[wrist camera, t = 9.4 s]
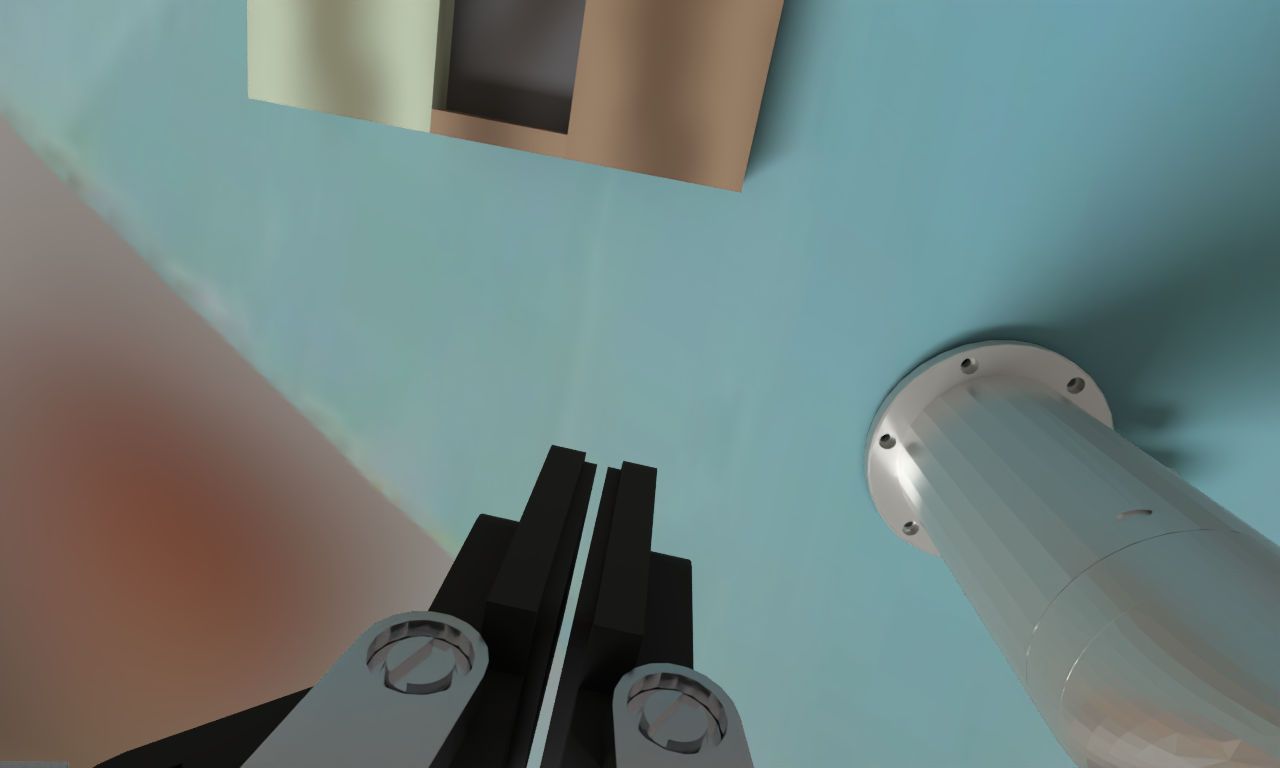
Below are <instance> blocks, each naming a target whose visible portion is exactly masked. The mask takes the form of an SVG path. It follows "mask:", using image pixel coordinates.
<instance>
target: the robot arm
mask: <svg viewBox="0 0 1280 768" xmlns="http://www.w3.org/2000/svg"><path fill="white" fill-rule="evenodd" d="M965 359H967V362H966V363H965V364H963V365H961V364H962V362H963V361H964V360H965ZM1069 381H1070V382H1069ZM1068 382H1069V383H1068ZM885 434H887V436H886V437H885V438H881V437H882V436H883V435H885ZM585 456H586V452H582V451H577V450H573V449H568V448H564V447H559V446H555V445H552V446H551V448H550V450H549V453H548V455H547V458H546V460H545V462H544V465H543V467H542V470H541V472H540V474H539V477H538V479H537V481H536V484H535V486H534V489H533V491H532V493H531V496H530V498H529V501H528V503H527V505H526V508H525V510H524V512H523V515H522V517H521V520H520V522H517V521H513V520H509V519H504V518H500V517H495V516H491V515H486V514H480V515H479V517H478V518H477V520H476V522H475V524H474V525H473V527H472V529H471V531H470V533H469V535H468V537H467V539H466V541H465V542H464V544H463V546H462V548H461V550H460V552H459V554H458V556H457V557H456V559H455V561H454V563H453V565H452V567H451V569H450V571H449V573H448V575H447V576H446V578H445V580H444V582H443V584H442V586H441V588H440V589H439V591H438V593H437V595H436V597H435V599H434V601H433V603H432V605H431V606H430V608H429V610H428V611H412V612H406V613H401V614H396V615H392V616H390V617H388V618H385V619H383V620H381V621H379V622H377V623H375V624H373V625H372V626H371V627H370V628H369V629H368V630H366V631H365V632H364V633H362V634H361V635H360V636H359V638H357V640H356V641H355V642H354V643H353V644H352V645H351V646H350V647H349V648H348V649H347V651H346V652H345V653H344V654H343V655H342V656H341V657H340V658H339V660H338V661H337V662H336V663H335V664H334V665H333V666H332V667H331V668H330V669H329V670H328V672H327V673H326V674H325V675H324V676H323V677H322V678H321V679H320V680H319V681H318V683H317V684H316V685H315V686H313V687H310V688H307V689H305V690H302V691H299V692H296V693H293V694H290V695H287V696H285V697H282V698H279V699H276V700H273V701H270V702H267V703H264V704H262V705H259V706H256V707H253V708H250V709H247V710H245V711H242V712H239V713H236V714H233V715H230V716H227V717H225V718H221V719H219V720H216V721H213V722H210V723H207V724H204V725H201V726H199V727H196V728H193V729H190V730H187V731H184V732H181V733H179V734H176V735H173V736H170V737H167V738H164V739H161V740H158V741H156V742H153V743H150V744H147V745H144V746H141V747H138V748H135V749H133V750H130V751H127V752H124V753H122V754H120V755H118V756H116V757H114V758H111V759H109V760H107V761H105V762H103V763H100V764H98V765H96V766H95V767H93V768H526V767H527V763H528V759H529V755H530V751H531V747H532V743H533V739H534V734H535V731H536V727H537V722H538V719H539V715H540V710H541V707H542V703H543V699H544V694H545V690H546V686H547V682H548V678H549V674H550V670H551V666H552V662H553V658H554V654H555V650H556V646H557V642H558V638H559V634H560V630H561V626H562V622H563V617H564V613H565V609H566V604H567V600H568V595H569V590H570V586H571V581H572V577H573V572H574V568H575V563H576V559H577V554H578V550H579V545H580V541H581V536H582V532H583V527H584V522H585V518H586V513H587V509H588V504H589V500H590V495H591V491H592V486H593V482H594V477H595V473H596V468H597V464H593V463H589V462H584V461H585ZM864 474H865V480H866V483H867V487H868V490H869V494H870V496H871V498H872V500H873V502H874V504H875V506H876V508H877V510H878V512H879V513H880V515H881V516H882V518H883V519H884V521H885V522H886V523H887V525H888V526H889V527H890V528H891V529H892V530H893V531H894V532H895V533H896V534H897V535H898V536H899V537H900V538H901V539H902V540H904V541H906V542H907V543H909V544H910V545H912V546H914V547H915V548H917V549H919V550H921V551H923V552H926V553H929V554H932V555H934V556H937V557H940V558H943V560H944V562H945V563H946V565H947V566H948V568H949V570H950V571H951V573H952V574H953V576H954V578H955V579H956V581H957V582H958V584H959V586H960V587H961V589H962V590H963V592H964V594H965V595H966V597H967V598H968V600H969V601H970V603H971V605H972V606H973V608H974V609H975V611H976V613H977V614H978V616H979V617H980V619H981V621H982V622H983V624H984V625H985V627H986V629H987V630H988V632H989V633H990V635H991V637H992V638H993V640H994V641H995V643H996V644H997V646H998V648H999V649H1000V651H1001V652H1002V654H1003V656H1004V657H1005V659H1006V660H1007V662H1008V664H1009V665H1010V667H1011V668H1012V670H1013V672H1014V673H1015V675H1016V676H1017V678H1018V680H1019V681H1020V683H1021V684H1022V686H1023V687H1024V689H1025V691H1026V692H1027V694H1028V695H1029V697H1030V699H1031V700H1032V702H1033V703H1034V705H1035V707H1036V708H1037V710H1038V712H1039V713H1040V715H1041V717H1042V718H1043V720H1044V721H1045V723H1046V724H1047V726H1048V727H1049V729H1050V731H1051V732H1052V734H1053V735H1054V737H1055V738H1056V740H1057V741H1058V743H1059V744H1060V745H1061V747H1062V748H1063V749H1064V751H1065V752H1066V753H1067V755H1068V756H1069V757H1070V758H1071V759H1072V761H1073V762H1074V763H1075V764H1076V765H1077V766H1078V767H1079V768H1280V546H1278V545H1277V544H1275V543H1274V542H1272V541H1271V540H1270V539H1268V538H1267V537H1265V536H1264V535H1262V534H1261V533H1260V532H1258V531H1257V530H1255V529H1254V528H1252V527H1251V526H1250V525H1248V524H1247V523H1245V522H1244V521H1242V520H1241V519H1240V518H1238V517H1237V516H1235V515H1234V514H1232V513H1231V512H1230V511H1228V510H1227V509H1225V508H1224V507H1222V506H1221V505H1220V504H1218V503H1217V502H1215V501H1214V500H1212V499H1211V498H1210V497H1208V496H1207V495H1205V494H1204V493H1202V492H1201V491H1200V490H1198V489H1197V488H1195V487H1194V486H1192V485H1191V484H1190V483H1188V482H1187V481H1185V480H1184V479H1182V478H1181V477H1180V476H1179V474H1178V473H1177V471H1176V470H1175V469H1172V468H1168V467H1165V466H1164V465H1162V464H1161V463H1160V462H1158V461H1157V460H1155V459H1154V458H1152V457H1151V456H1150V455H1148V454H1147V453H1145V452H1144V451H1142V450H1141V449H1140V448H1138V447H1137V446H1135V445H1134V444H1132V443H1131V442H1130V441H1128V440H1127V439H1125V438H1124V437H1122V436H1121V435H1120V434H1118V433H1117V432H1115V431H1114V427H1113V420H1112V413H1111V411H1110V408H1109V406H1108V404H1107V401H1106V399H1105V396H1104V394H1103V393H1102V391H1101V390H1100V388H1099V387H1098V386H1097V384H1096V383H1095V381H1094V380H1093V379H1092V377H1090V376H1089V375H1088V374H1087V373H1086V372H1085V371H1084V370H1082V369H1081V368H1080V367H1079V366H1078V365H1077V364H1075V363H1074V362H1072V361H1070V360H1069V359H1067V358H1065V357H1064V356H1062V355H1060V354H1059V353H1057V352H1054V351H1052V350H1049V349H1047V348H1045V347H1042V346H1040V345H1037V344H1032V343H1027V342H1021V341H1016V340H988V341H982V342H977V343H971V344H966V345H963V346H960V347H957V348H954V349H952V350H949V351H946V352H943V353H941V354H939V355H938V356H936V357H934V358H932V359H930V360H929V361H927V362H925V363H923V364H921V365H920V366H919V367H917V368H916V369H915V370H914V371H912V372H911V373H910V374H909V375H907V376H906V377H905V378H904V379H902V380H901V381H900V383H899V384H898V385H897V386H896V387H895V388H894V389H893V390H892V392H891V393H890V394H889V395H888V396H887V397H886V399H885V400H884V402H883V404H882V405H881V407H880V408H879V410H878V412H877V413H876V415H875V417H874V419H873V422H872V424H871V427H870V430H869V432H868V435H867V439H866V445H865V451H864ZM656 477H657V468H653V467H648V466H644V465H640V464H635V463H631V462H626V461H623V464H622V468H621V470H620V469H616V468H611V467H608V469H607V474H606V478H605V483H604V487H603V491H602V496H601V500H600V505H599V509H598V514H597V518H596V522H595V527H594V531H593V536H592V540H591V544H590V549H589V553H588V558H587V562H586V567H585V571H584V575H583V580H582V584H581V589H580V593H579V597H578V602H577V606H576V611H575V615H574V619H573V624H572V628H571V633H570V637H569V642H568V646H567V650H566V655H565V659H564V664H563V668H562V673H561V677H560V681H559V686H558V690H557V695H556V699H555V703H554V708H553V712H552V717H551V721H550V726H549V730H548V734H547V739H546V743H545V748H544V752H543V756H542V761H541V765H540V768H754V766H753V762H752V759H751V755H750V751H749V748H748V744H747V740H746V737H745V733H744V729H743V726H742V722H741V718H740V716H739V714H738V711H737V709H736V707H735V705H734V703H733V701H732V700H731V698H730V697H729V696H728V695H727V694H726V693H725V691H724V690H723V689H722V688H721V687H720V686H719V685H717V684H716V683H715V682H713V681H712V680H711V679H709V678H708V677H707V676H705V675H703V674H701V673H699V672H696V671H694V670H693V615H692V565H691V561H690V560H688V559H684V558H679V557H675V556H670V555H666V554H661V553H657V552H652V551H651V539H652V527H653V514H654V502H655V489H656ZM0 768H69V765H68V762H0Z"/></svg>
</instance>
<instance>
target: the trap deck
mask: <svg viewBox="0 0 1280 768" xmlns="http://www.w3.org/2000/svg"><path fill="white" fill-rule="evenodd" d="M783 3H784V0H247V37H248V98H251V99H256V100H262V101H267V102H272V103H277V104H282V105H288V106H293V107H298V108H303V109H309V110H314V111H319V112H324V113H329V114H335V115H340V116H345V117H350V118H355V119H361V120H366V121H371V122H376V123H382V124H387V125H392V126H397V127H402V128H408V129H413V130H418V131H423V132H429V133H434V134H439V135H444V136H449V137H455V138H460V139H465V140H470V141H476V142H481V143H486V144H491V145H496V146H502V147H507V148H512V149H517V150H523V151H528V152H533V153H538V154H543V155H549V156H554V157H559V158H564V159H569V160H575V161H580V162H585V163H590V164H596V165H601V166H606V167H611V168H616V169H622V170H627V171H632V172H637V173H643V174H648V175H653V176H658V177H663V178H669V179H674V180H679V181H684V182H690V183H695V184H700V185H705V186H710V187H716V188H721V189H726V190H731V191H736V192H741V190H742V185H743V181H744V177H745V172H746V168H747V163H748V159H749V154H750V150H751V145H752V141H753V136H754V132H755V128H756V123H757V119H758V114H759V110H760V105H761V101H762V96H763V92H764V87H765V83H766V79H767V74H768V70H769V65H770V61H771V56H772V52H773V47H774V43H775V38H776V34H777V30H778V25H779V21H780V16H781V12H782V7H783Z"/></svg>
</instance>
